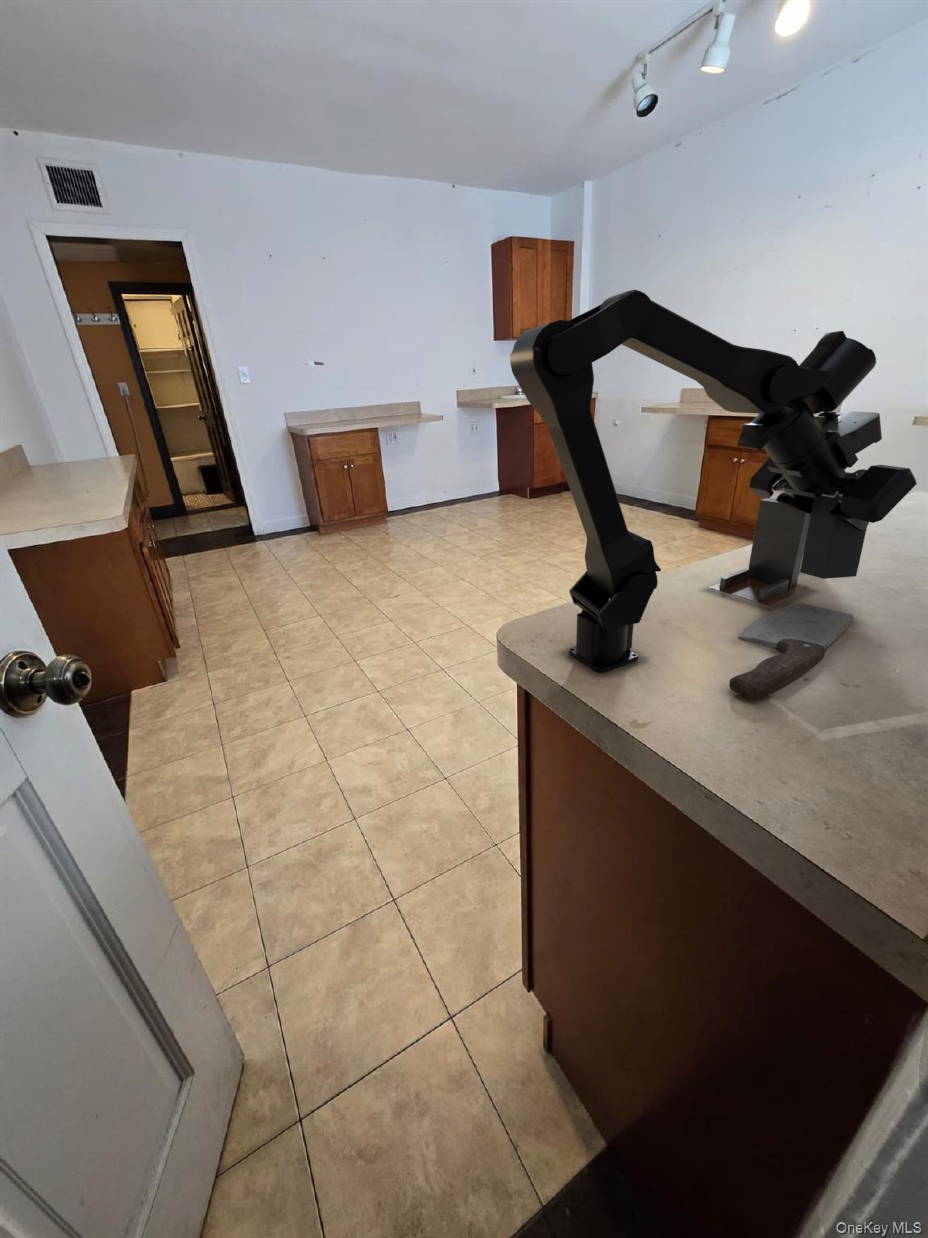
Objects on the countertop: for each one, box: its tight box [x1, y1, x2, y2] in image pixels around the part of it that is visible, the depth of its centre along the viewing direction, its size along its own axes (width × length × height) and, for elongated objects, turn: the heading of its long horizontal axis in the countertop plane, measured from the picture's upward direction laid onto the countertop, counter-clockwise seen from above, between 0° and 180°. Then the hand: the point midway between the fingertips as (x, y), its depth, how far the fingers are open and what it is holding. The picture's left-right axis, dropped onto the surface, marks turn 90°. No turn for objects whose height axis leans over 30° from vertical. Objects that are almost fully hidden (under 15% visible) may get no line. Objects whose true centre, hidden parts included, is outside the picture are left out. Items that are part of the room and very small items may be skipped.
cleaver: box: [728, 602, 854, 699], centre depth 65 cm, size 29×10×2 cm, turn 133°
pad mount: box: [708, 497, 811, 607], centre depth 79 cm, size 11×10×14 cm
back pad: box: [799, 495, 868, 580], centre depth 68 cm, size 5×4×13 cm
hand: (848, 523), depth 68 cm, fingers closed on back pad, 4 cm apart
